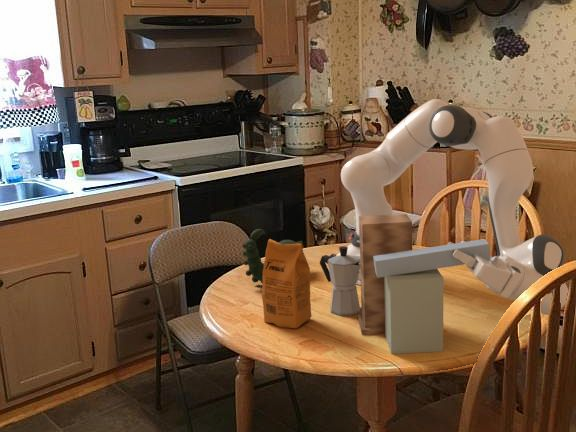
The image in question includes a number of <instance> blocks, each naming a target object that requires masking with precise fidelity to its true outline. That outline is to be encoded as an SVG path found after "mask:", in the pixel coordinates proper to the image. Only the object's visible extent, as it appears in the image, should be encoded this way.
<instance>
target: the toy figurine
mask: <svg viewBox="0 0 576 432" xmlns="http://www.w3.org/2000/svg"><path fill="white" fill-rule="evenodd" d="M261 235H264V236H265V235H266V231H265V230H264V229H262V228H257V229H255V230H253V231H252V232H251V233H250V239H247V240H246V241H245V242H244V243H243V244H242V245H241V247H242V248H243V249H245V250H244V251H242V256H244V257H246V258H247V259H246V260H243V265H245V266H248V269H247V270H246V271H245V276H247V277H250V276H251V275H252V277H251V281H252V282H253V283H258V282H260V284H263V269H264V262H262V259H261V257H260V255H259V249H258V248H257V243H256V241H258V240H259V238H260V237H261ZM303 241H304V240H299V241H294V240H291V239H282V240H281V241H279V242H278V243H280V244H303Z"/></svg>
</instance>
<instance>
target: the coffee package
mask: <svg viewBox="0 0 576 432" xmlns="http://www.w3.org/2000/svg"><path fill="white" fill-rule="evenodd" d="M267 240H268V241H267V245H266V249H265V254H264V255H265V256H264V262H263V263H264V269H263V284H262V283H261V284H262V289H261V291H262V293H261V299H262V304H263V305H262V306H263V320H264V323H268V324H274V325H276V326H277V327H279V328H284V329H285V328H286V329H298V328H299V327H301V326H302V325H303V324H305V323H306V322H307V321H309V320H310V319H311V318H312V304H311V279H310V277H311V269H310V266H309V262H308V260H307V258H306V255H305V252H304V250H303V249H304V248H305V246H304V244H303V243H302V244H280V243H279V242H278V241H276V240H273V239H271V238H269V239H267Z"/></svg>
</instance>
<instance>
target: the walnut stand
mask: <svg viewBox="0 0 576 432" xmlns="http://www.w3.org/2000/svg"><path fill="white" fill-rule="evenodd" d="M359 236H360V272H361V285H360V300H361V301H360V303H361V307H360V310H361V312H359V313H357V314H356V315H357V321H358V324H359V325H358V326H359V329H360V333H361V335H380V334H385V291H384V277H379V278H377V275H376V272H375V266H374V259H373V256H377V255H384V254H390V253H397V252H403V251H410V250H413V221H412V220H411V218H410V216H409V215H408V214H407V213H400V214H399V213H397V214H392V215H376V216H359Z"/></svg>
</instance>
